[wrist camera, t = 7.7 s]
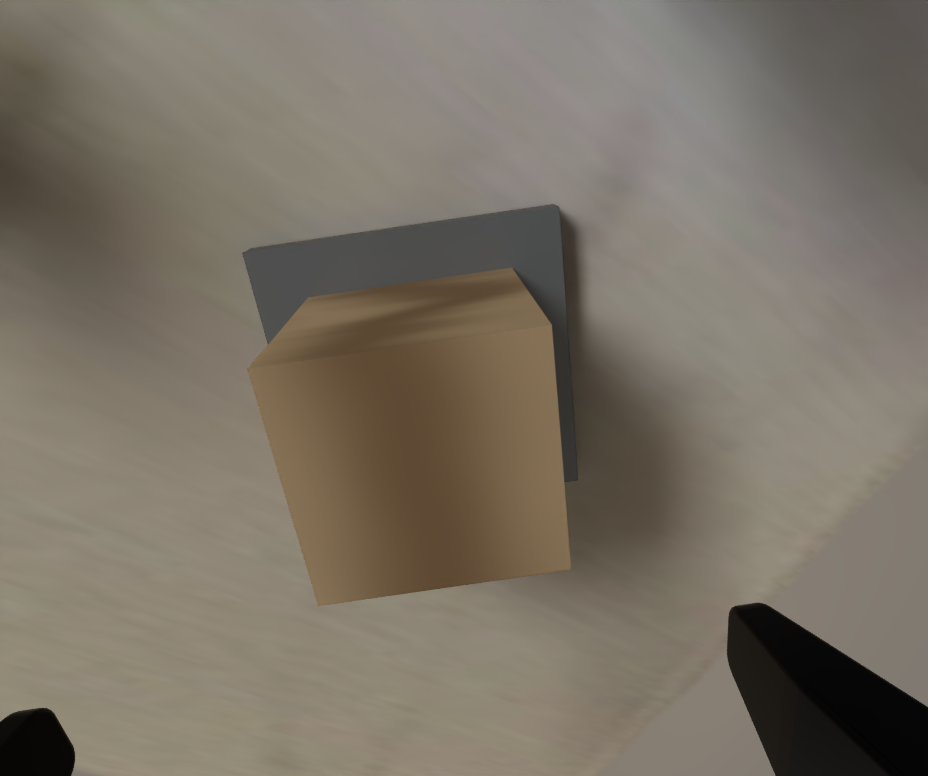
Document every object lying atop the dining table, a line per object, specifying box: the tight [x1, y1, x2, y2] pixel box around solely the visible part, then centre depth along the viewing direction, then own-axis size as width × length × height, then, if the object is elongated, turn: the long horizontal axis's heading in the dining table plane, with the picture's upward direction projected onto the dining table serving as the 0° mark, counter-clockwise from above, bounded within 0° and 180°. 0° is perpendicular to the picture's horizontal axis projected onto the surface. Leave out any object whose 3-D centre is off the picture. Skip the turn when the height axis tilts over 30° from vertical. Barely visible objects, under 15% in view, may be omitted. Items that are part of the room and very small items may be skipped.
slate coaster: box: [243, 204, 578, 482], centre depth 18 cm, size 9×9×1 cm
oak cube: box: [248, 268, 571, 606], centre depth 15 cm, size 6×6×6 cm
